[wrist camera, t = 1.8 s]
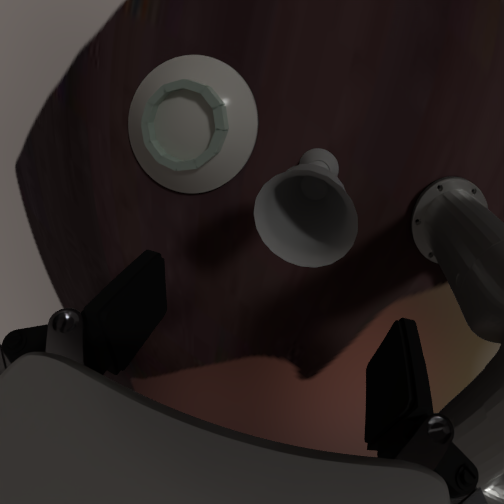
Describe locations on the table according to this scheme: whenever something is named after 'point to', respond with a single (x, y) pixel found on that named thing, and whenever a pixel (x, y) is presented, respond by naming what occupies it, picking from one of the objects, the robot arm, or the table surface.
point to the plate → (193, 123)
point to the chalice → (307, 212)
